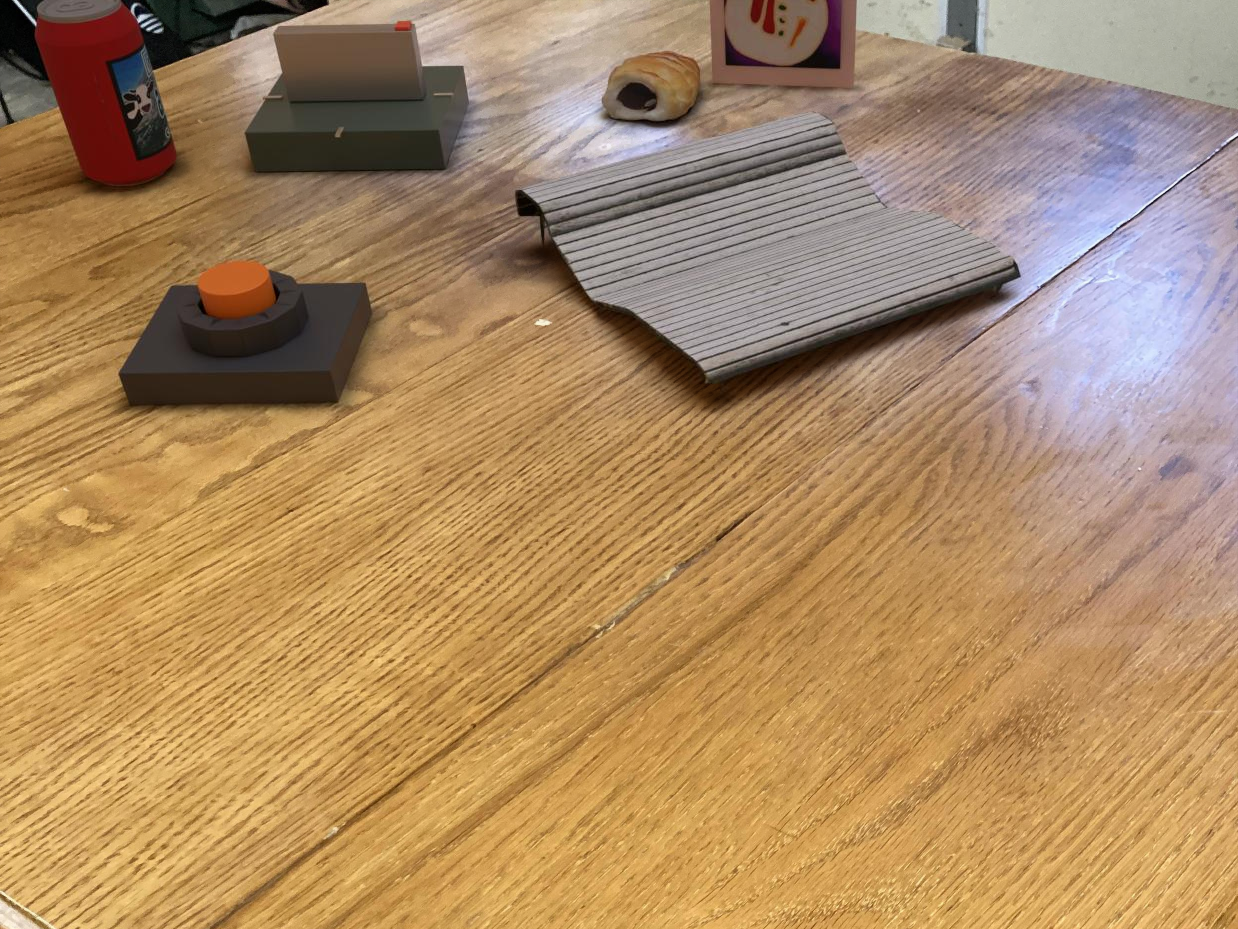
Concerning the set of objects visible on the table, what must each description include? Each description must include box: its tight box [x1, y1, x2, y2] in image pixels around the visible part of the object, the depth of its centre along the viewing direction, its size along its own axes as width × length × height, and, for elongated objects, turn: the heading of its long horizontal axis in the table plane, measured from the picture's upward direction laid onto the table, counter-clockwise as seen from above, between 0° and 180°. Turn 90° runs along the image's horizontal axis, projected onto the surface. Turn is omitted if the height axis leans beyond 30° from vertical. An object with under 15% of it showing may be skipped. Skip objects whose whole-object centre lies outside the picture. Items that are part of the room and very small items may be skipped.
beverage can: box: [34, 0, 178, 187], centre depth 100 cm, size 7×7×12 cm
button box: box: [117, 269, 373, 406], centre depth 84 cm, size 12×10×4 cm
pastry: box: [601, 50, 701, 122], centre depth 111 cm, size 9×7×4 cm
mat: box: [514, 111, 1022, 398], centre depth 91 cm, size 23×24×5 cm
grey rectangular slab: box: [272, 20, 426, 102], centre depth 105 cm, size 10×2×5 cm, turn 90°
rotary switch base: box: [244, 65, 470, 173], centre depth 107 cm, size 14×14×3 cm
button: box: [196, 260, 276, 319], centre depth 82 cm, size 4×4×2 cm
